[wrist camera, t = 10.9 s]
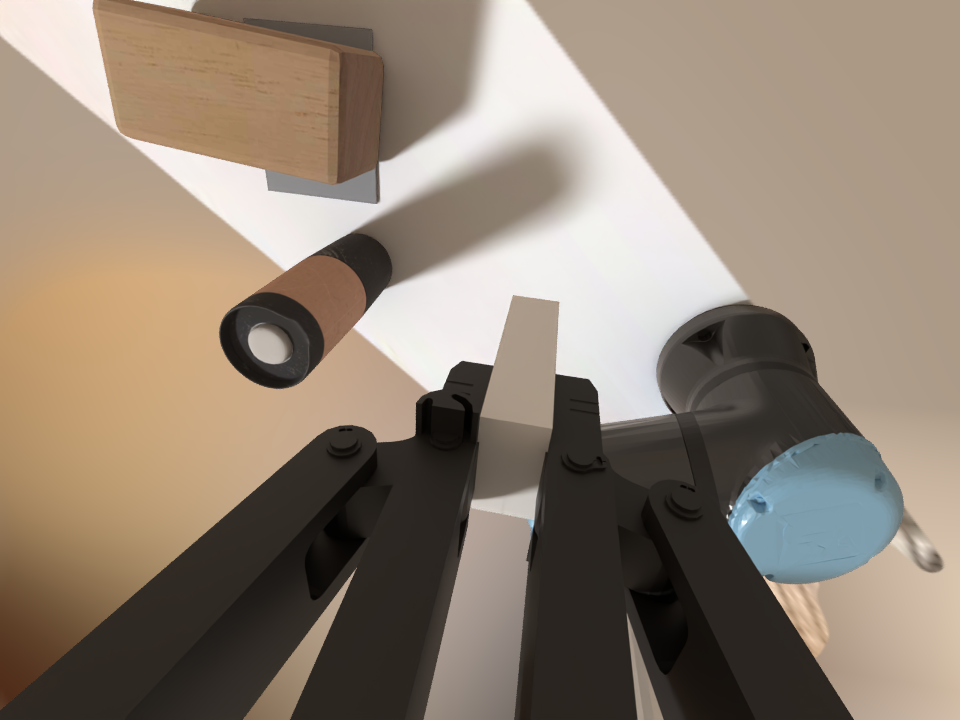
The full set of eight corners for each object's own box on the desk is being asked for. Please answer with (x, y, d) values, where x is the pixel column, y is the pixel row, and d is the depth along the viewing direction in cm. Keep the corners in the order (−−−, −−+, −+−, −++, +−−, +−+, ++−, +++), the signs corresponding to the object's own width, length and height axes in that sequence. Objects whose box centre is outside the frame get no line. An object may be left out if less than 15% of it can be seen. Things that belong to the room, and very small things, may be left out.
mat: (371, 29, 42) (370, 29, 41) (377, 203, 49) (376, 203, 49) (245, 18, 43) (243, 18, 43) (269, 189, 51) (268, 190, 50)
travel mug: (325, 282, 55) (215, 370, 38) (335, 220, 51) (217, 288, 34) (386, 305, 55) (305, 403, 38) (401, 245, 51) (317, 325, 34)
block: (388, 54, 42) (178, 8, 43) (342, 47, 34) (81, -10, 35) (380, 171, 47) (193, 128, 48) (338, 190, 39) (112, 137, 40)
